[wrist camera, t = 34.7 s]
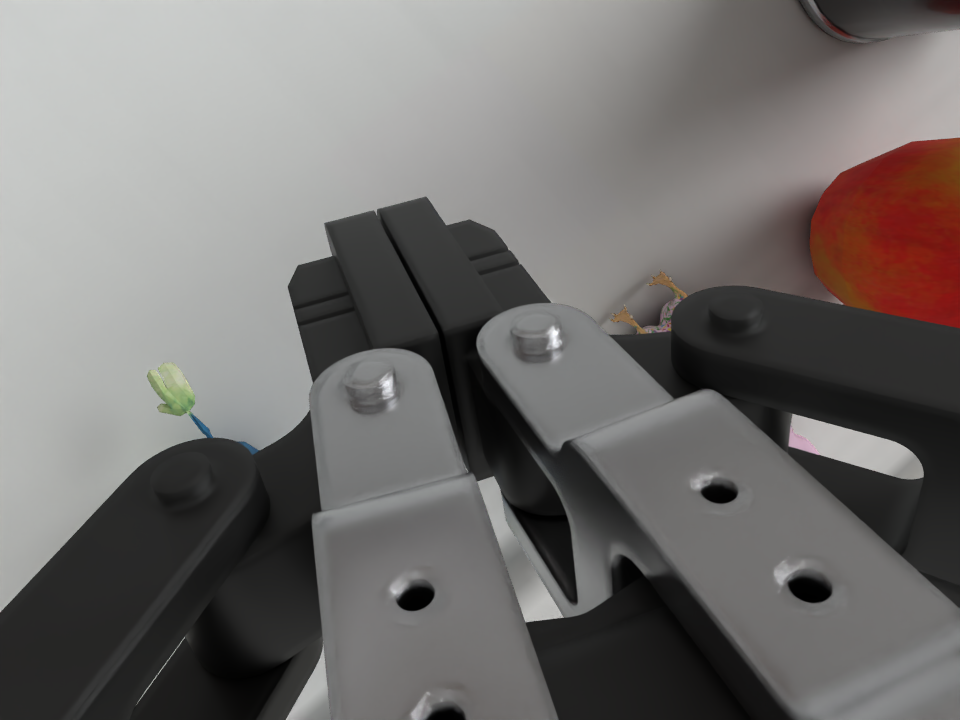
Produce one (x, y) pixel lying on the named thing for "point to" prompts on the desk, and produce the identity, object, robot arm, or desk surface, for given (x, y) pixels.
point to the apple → (894, 233)
